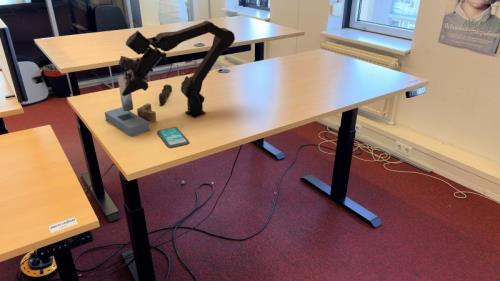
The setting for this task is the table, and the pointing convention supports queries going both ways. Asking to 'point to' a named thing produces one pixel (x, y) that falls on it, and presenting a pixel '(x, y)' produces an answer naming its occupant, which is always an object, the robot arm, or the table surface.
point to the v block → (147, 113)
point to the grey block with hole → (127, 121)
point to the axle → (127, 99)
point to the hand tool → (164, 94)
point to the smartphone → (172, 137)
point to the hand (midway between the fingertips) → (121, 93)
